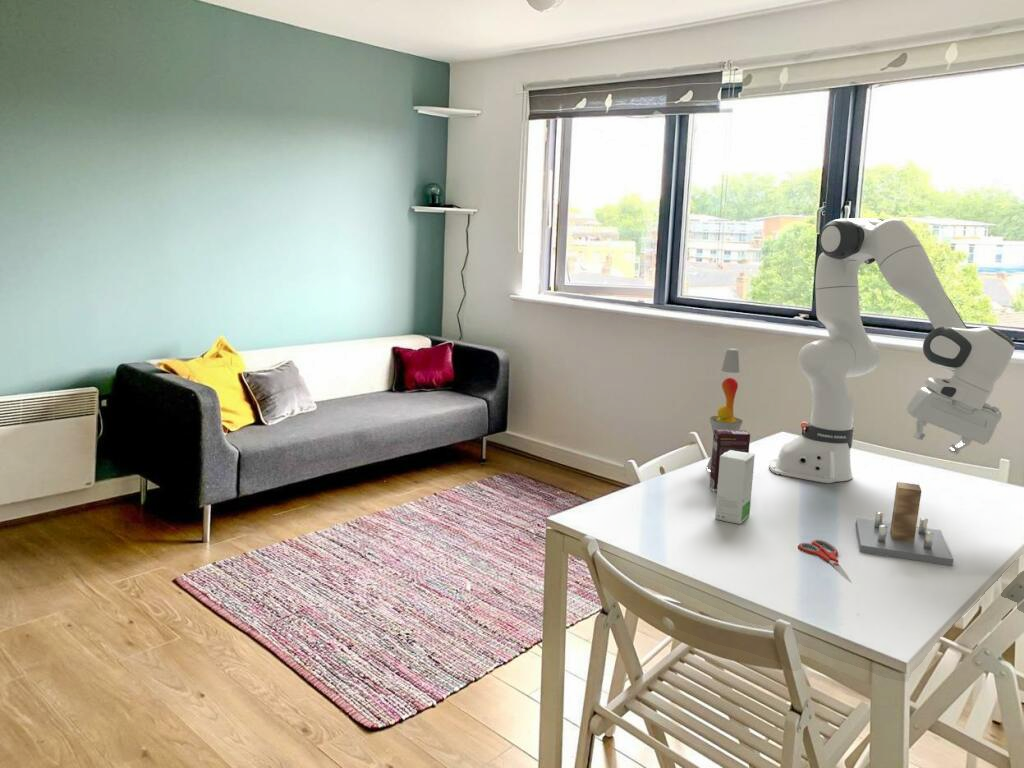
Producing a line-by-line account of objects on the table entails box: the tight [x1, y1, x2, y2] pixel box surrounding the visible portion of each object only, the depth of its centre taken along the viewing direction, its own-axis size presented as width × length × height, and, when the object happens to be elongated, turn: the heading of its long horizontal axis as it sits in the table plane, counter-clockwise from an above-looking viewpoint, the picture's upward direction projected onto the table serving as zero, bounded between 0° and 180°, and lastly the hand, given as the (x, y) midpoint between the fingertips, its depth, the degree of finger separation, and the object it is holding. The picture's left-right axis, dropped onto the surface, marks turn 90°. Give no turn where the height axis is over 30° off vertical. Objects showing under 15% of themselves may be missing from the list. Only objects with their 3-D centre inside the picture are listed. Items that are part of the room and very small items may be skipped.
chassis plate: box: [855, 518, 954, 567], centre depth 184 cm, size 18×18×2 cm
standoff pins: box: [874, 511, 934, 550], centre depth 183 cm, size 11×11×4 cm
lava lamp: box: [706, 348, 743, 470], centre depth 230 cm, size 9×9×35 cm
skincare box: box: [714, 450, 756, 525], centre depth 195 cm, size 8×7×16 cm
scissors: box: [797, 539, 853, 584], centre depth 172 cm, size 8×21×2 cm, turn 13°
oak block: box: [890, 481, 922, 543], centre depth 182 cm, size 4×4×12 cm
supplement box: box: [709, 429, 751, 492], centre depth 216 cm, size 9×5×16 cm, turn 92°
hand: (935, 445), depth 196 cm, fingers open, 8 cm apart
